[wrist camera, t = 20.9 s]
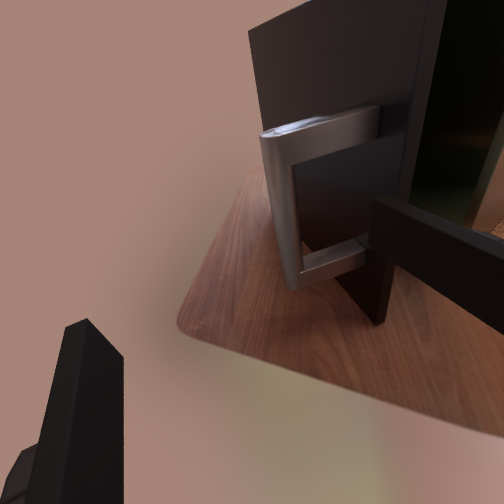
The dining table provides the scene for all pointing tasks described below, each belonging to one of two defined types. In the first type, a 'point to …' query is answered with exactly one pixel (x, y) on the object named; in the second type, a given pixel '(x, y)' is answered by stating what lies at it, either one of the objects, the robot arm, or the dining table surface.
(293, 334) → the dining table surface
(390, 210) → the robot arm
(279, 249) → the compartment door
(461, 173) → the storage compartment
